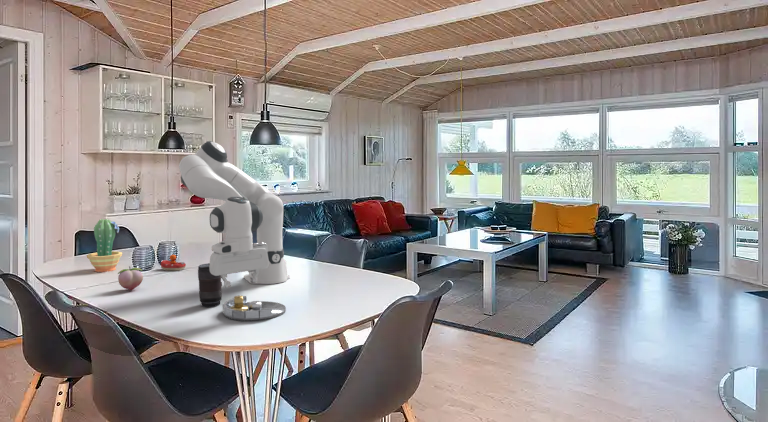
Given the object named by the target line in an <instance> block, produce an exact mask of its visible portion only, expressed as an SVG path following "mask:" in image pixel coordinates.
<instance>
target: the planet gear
mask: <svg viewBox="0 0 768 422" xmlns="http://www.w3.org/2000/svg"><path fill="white" fill-rule="evenodd" d="M243 296H244V295H235V296H234V297H233V298H234V306H231V307H230V308H231V309H234V310H243V311H248V306H247V305H243Z"/></svg>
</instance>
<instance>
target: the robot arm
mask: <svg viewBox="0 0 768 422" xmlns="http://www.w3.org/2000/svg"><path fill="white" fill-rule="evenodd" d="M178 169H179V172H180V181H181V184H182V185H183V186H184V187H186V188H187V189H188V190H189V191H190V192H191V193H192V194H193V195H195V196H196V197H199V198H201V199H213V200H220V201H224V203H223V204H221V205H219V206H216V207H214V208H213V209H212V210H211V212H210V213H209V226H210V228H211V229H212V230H213V231H215V232H216V233H217V234H218V233H219V234H225V239H224V240H221V241H220V242H218V243H214V244H213V245H212V246H211V251H212V254H210V257H209V263H210V266H209V269H210V273H211V274H212V275H214V276H218V275H221V280H222V281H223V284H224V288H230V287H231V283H232V282H231V281H230V280H227V278H228V275H231V274H236V273H243V272H247V274H244V275H243V278H244V279H245V280H246V281H247V282H249V284H255V285H257V284H258V285H259V284H260V285H261V284H262V285H270V284H271V285H273V284H280V283H285V282H287V281H288V279H290V278H291V276H290V275H288V267H287V261H286V260H285V259H284V257H285V255H284V254H285V251H284V247H283V229H284V227H283V226H284V202H283V200H282V199H281V198H280V197H279V196H278V195H276V194H274V193H273V192H271V191H270V190H269V189H267V188H266V187H265V186H263V185H262V184H261V183H259V182H258V181H257V180H256V179H254V177H251V176H250V175H248V174H247V173H245V172H244V171H243V170H241V169H240V168H239V167H237V166H236V165H234V164H232V163H231V162H229V161H228V153H227V151H226V149H225V148H224V147H223V146H222V145H221V144H219V143H217V142H215V141H211V140H209V141H206V142H203V144H202V145H201V147H200V148H198V150H197V151H196V153H194V154H189V155H185V156H184V157H183V158H182V159H181V160H180V162H179V165H178ZM253 232H256V242H253V237H254V236H253Z"/></svg>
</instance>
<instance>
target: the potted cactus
mask: <svg viewBox="0 0 768 422" xmlns="http://www.w3.org/2000/svg"><path fill="white" fill-rule="evenodd" d="M119 232H120V227H119V226H118V223H116V221H113V220H111V219H108V218H105V219H103V218H101V219H99V220H98V221H97V222H96V224H94V227H93V235H94V238H95V239H94V240H95V241H96V252H93V253H88V254H87V255H86V258H87V259H88V260H89V262H90V264H91V265H92V267H94V272H98V273H106V272H112V271H116V268H117V265H118V264H119V262H120V259H121V257H122V256H123V252H122V251H115V250H114V251H113V245H114V244H113V243H114V241H115V237H116V234H119Z"/></svg>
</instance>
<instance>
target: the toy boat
mask: <svg viewBox="0 0 768 422" xmlns="http://www.w3.org/2000/svg"><path fill="white" fill-rule="evenodd" d="M176 260H177V255H176V254H170V256H169V260H167V259H166V260H165V259H164V260H162V261H161V262H160V268H161V269H162V270H163V271H168V272H169V271H172V272H177V271H179V272H180V271H182V270H184V269H185V268H186V266H187V265H186V263H185V262H184V261H183V262H179V261H178V262H177V261H176Z"/></svg>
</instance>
